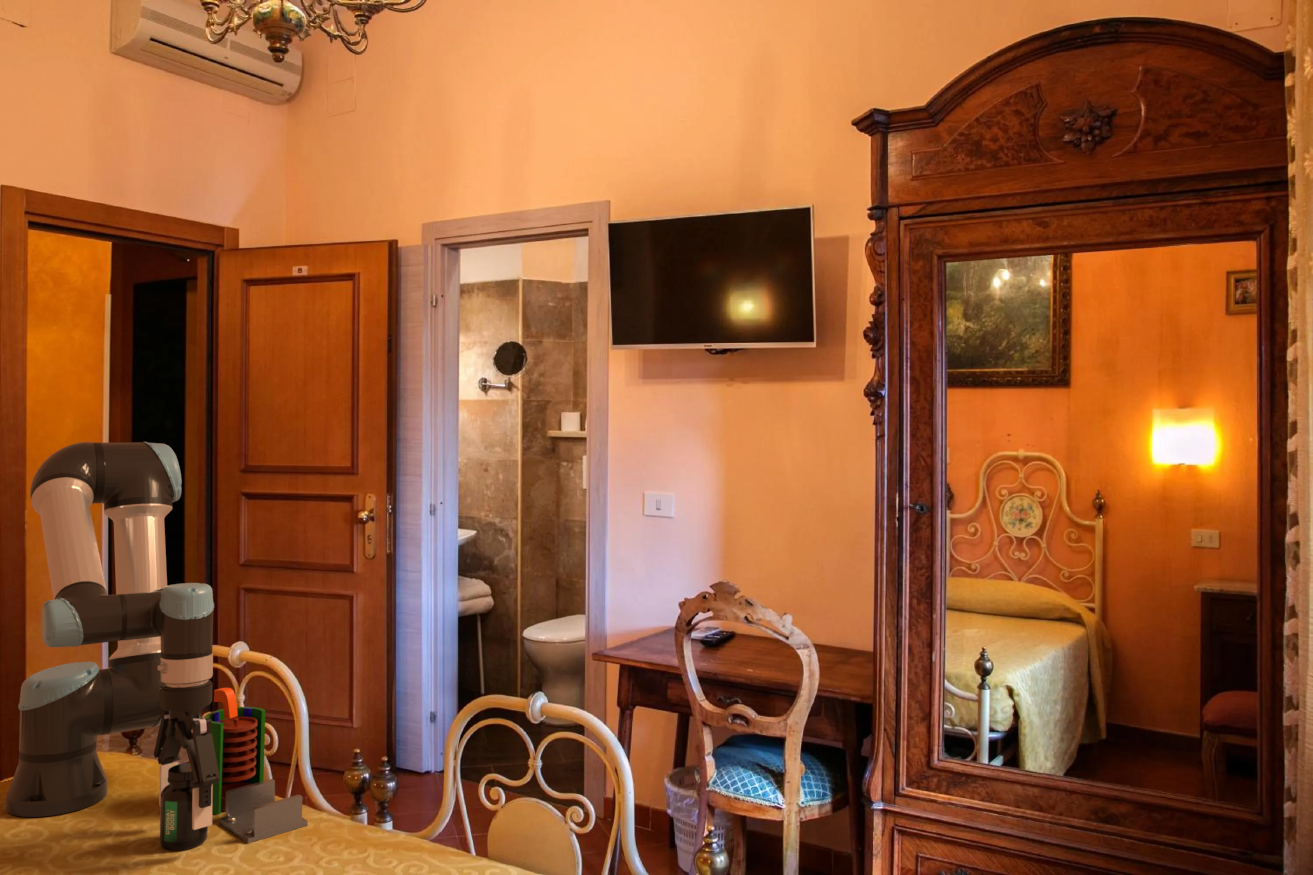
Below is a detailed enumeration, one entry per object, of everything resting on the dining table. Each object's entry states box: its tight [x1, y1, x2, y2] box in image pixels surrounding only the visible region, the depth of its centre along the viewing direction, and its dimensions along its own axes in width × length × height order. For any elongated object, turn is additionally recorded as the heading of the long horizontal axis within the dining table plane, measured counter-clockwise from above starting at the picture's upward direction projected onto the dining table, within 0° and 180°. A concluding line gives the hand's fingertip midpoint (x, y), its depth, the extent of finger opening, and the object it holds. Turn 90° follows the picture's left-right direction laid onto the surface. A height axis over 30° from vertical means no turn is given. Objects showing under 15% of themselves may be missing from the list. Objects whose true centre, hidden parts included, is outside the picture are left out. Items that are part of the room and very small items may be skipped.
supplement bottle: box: [159, 762, 209, 852], centre depth 151 cm, size 7×7×12 cm
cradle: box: [219, 778, 308, 844], centre depth 159 cm, size 11×10×5 cm
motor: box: [204, 687, 266, 815], centre depth 167 cm, size 10×9×20 cm
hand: (185, 815), depth 151 cm, fingers open, 13 cm apart
